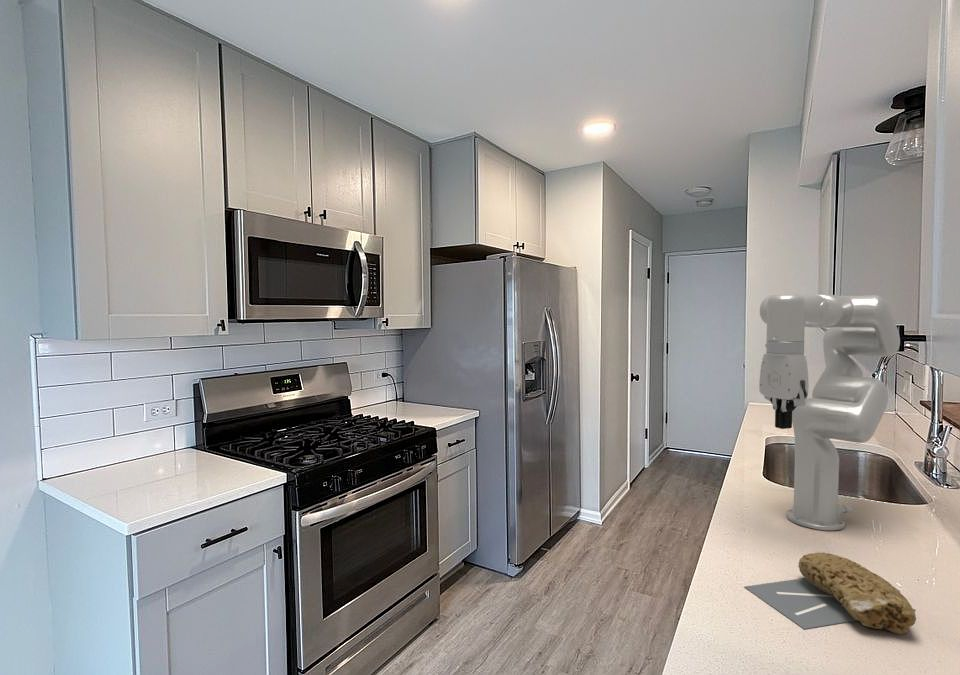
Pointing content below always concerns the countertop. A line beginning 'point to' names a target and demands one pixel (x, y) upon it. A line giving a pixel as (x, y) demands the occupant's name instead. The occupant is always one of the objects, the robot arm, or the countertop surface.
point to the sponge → (859, 591)
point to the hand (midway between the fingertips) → (783, 427)
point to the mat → (802, 603)
